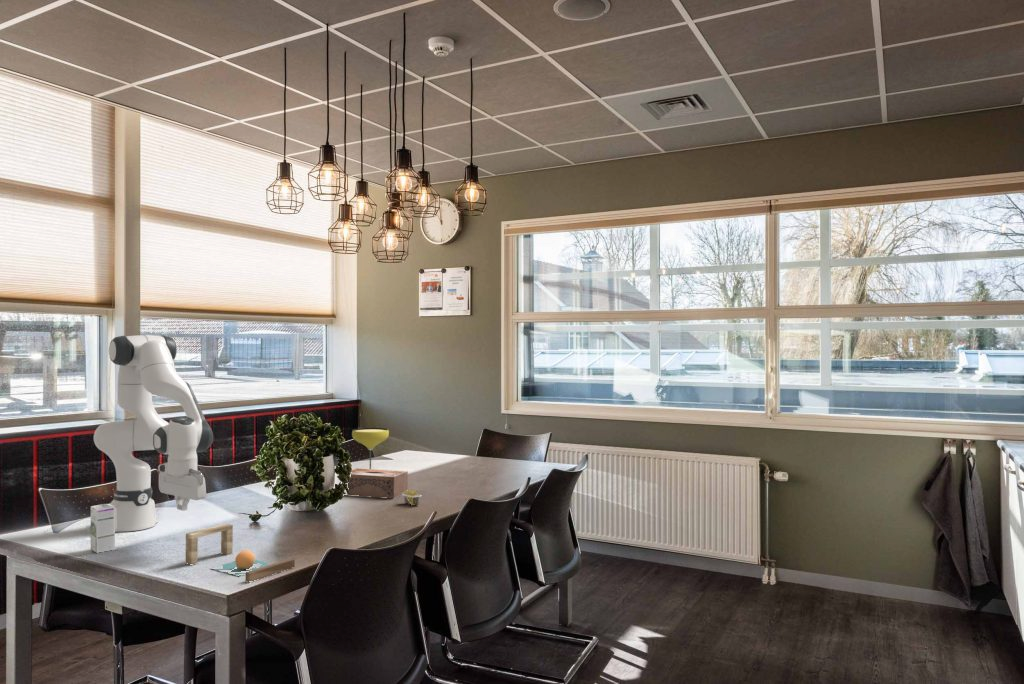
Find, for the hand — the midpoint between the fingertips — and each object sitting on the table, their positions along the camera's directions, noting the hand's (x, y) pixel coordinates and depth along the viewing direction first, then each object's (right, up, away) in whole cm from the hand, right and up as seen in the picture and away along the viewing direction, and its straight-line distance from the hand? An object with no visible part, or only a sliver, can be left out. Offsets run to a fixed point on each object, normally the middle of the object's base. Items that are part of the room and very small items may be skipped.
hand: (182, 509), depth 230 cm
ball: (+28, -11, -18) cm, 35 cm away
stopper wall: (+37, -14, -23) cm, 45 cm away
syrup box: (-26, -13, 0) cm, 29 cm away
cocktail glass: (+36, -15, +124) cm, 130 cm away
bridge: (+12, -13, -8) cm, 20 cm away
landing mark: (+26, -13, -16) cm, 34 cm away
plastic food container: (+65, -15, +68) cm, 95 cm away
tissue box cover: (+45, -15, +90) cm, 102 cm away
